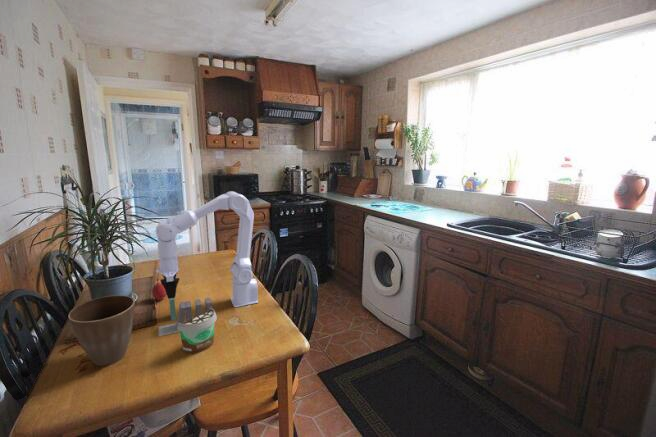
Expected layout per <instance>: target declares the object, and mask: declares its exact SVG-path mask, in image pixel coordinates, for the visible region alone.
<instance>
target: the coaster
mask: <svg viewBox="0 0 656 437" xmlns="http://www.w3.org/2000/svg"><path fill="white" fill-rule="evenodd" d="M176 333H180V331H179V330H178V331H177V322H176V323H172V324H166V325H162V326H158V337H161V336H166V335H171V334H172V335H173V334H176Z"/></svg>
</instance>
